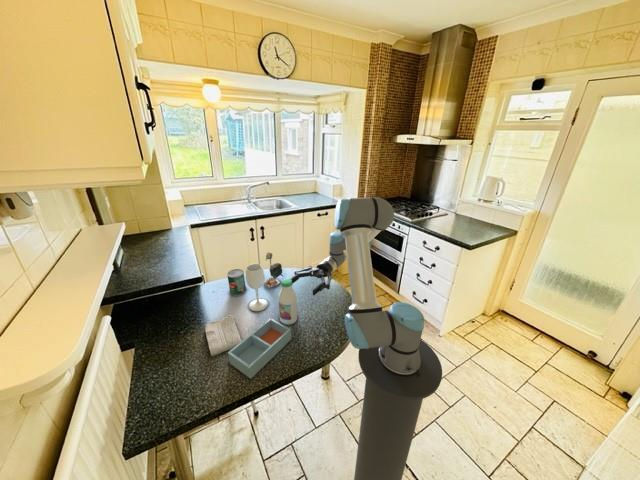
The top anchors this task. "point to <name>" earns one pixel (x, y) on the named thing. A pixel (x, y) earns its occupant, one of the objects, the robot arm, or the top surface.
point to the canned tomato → (236, 282)
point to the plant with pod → (273, 272)
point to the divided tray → (259, 347)
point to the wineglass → (256, 285)
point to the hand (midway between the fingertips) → (301, 287)
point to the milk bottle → (287, 303)
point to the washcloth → (222, 335)
